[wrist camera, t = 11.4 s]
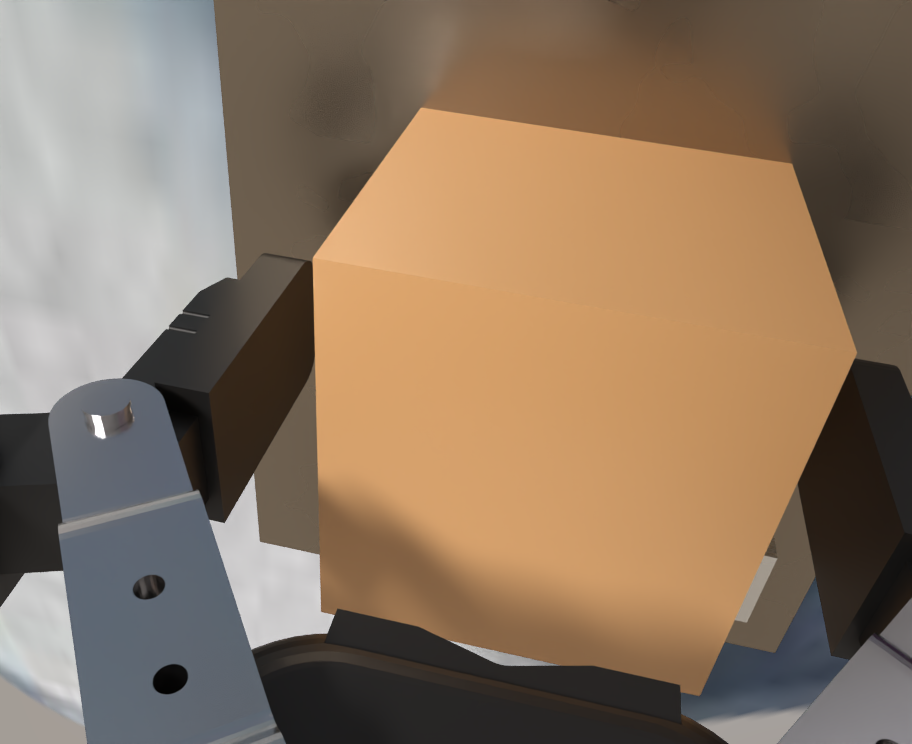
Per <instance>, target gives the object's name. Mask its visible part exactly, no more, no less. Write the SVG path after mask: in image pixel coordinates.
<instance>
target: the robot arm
mask: <svg viewBox="0 0 912 744" xmlns="http://www.w3.org/2000/svg"><path fill="white" fill-rule="evenodd" d="M314 358H315V335H314V294H313V264H312V262H311V261H309V260H303V259H297V258H292V257H286V256H280V255H275V254H269V253H263V254H261V255H260V256H259V258H258V259H257V260H256V261H255V262H254V264H253V265H252V266H251V267H250V268H249V270H248V271H247V272H246V273H245V274H244V275H243V277H242V278H241V279H240V280H238V279H232V278H225V279H223V280H221V281H219V282H217V283H215V284H213V285H211V286H209V287H208V288H206V289H204V290H202V291H200V292H199V293H198V294H197V295H196V296H195V297H194V298H193V300H192V301H191V302H190V303H189V304H188V305H187V306H186V307H185V308H184V310H183V314H179V315H178V316H177V317H176V319H175V320H174V321H173V322H172V323H171V324H170V325H169V330H167V329H166V330H165V331H164V332H163V333H162V334H161V335H160V336H159V338H158V339H157V340H156V341H155V342H154V343H153V344H152V345H151V347H150V348H149V349H148V350H147V351H146V352H145V353H144V354H143V355H142V357H141V358H140V359H139V360H138V361H137V362H136V363H135V364H134V366H133V367H132V368H131V369H130V370H129V371H128V372H127V373H126V374H125V376H124V377H123V378H122V379H107V380H100V381H96V382H92V383H89V384H86V385H83V386H80V387H78V388H76V389H74V390H72V391H71V392H69V393H67V394H66V395H65V396H63V397H62V398H61V399H60V400H59V401H58V402H57V403H56V404H55V405H54V406H53V408H52V410H51V411H50V413H36V414H3V415H0V607H1V606H2V604H3V603H4V601H5V600H6V599H7V597H8V596H9V594H10V593H11V592H12V590H13V589H14V587H15V586H16V584H17V583H18V582H19V580H20V579H21V577H22V576H23V575H24V573H32V572H49V571H64V578H65V585H66V592H67V600H68V607H69V614H70V621H71V629H72V636H73V643H74V650H75V658H76V665H77V672H78V679H79V687H80V694H81V701H82V708H83V716H84V723H85V730H86V737H87V744H728V743H727V742H726V741H724V740H723V739H722V738H720V737H719V736H717V735H716V734H715V733H714V732H712V731H710V730H709V729H707V728H705V727H704V726H702V725H701V724H699V723H697V722H696V721H694V720H692V719H690V718H688V717H686V716H684V715H682V714H681V694H680V685H678V684H674V683H669V682H665V681H660V680H656V679H651V678H647V677H642V676H638V675H633V674H629V673H624V672H620V671H615V670H611V669H606V668H602V667H597V666H504V665H499V664H496V663H494V662H491V661H489V660H487V659H485V658H483V657H481V656H479V655H477V654H475V653H473V652H471V651H469V650H466V649H464V648H462V647H460V646H458V645H456V644H454V643H452V642H450V641H448V640H446V639H444V638H441V637H439V636H437V635H435V634H433V633H431V632H429V631H427V630H425V629H423V628H421V627H418V626H414V625H409V624H405V623H400V622H396V621H391V620H387V619H382V618H378V617H373V616H369V615H365V614H360V613H356V612H351V611H347V610H342V609H338V608H337V611H336V613H335V616H334V619H333V621H332V624H331V626H330V629H329V631H328V634H311V635H303V636H295V637H291V638H287V639H282V640H278V641H274V642H271V643H268V644H266V645H263V646H260V647H257V648H254V649H252V650H251V648H250V645H249V642H248V638H247V635H246V632H245V629H244V626H243V623H242V620H241V617H240V614H239V611H238V608H237V605H236V601H235V598H234V595H233V592H232V589H231V586H230V583H229V580H228V577H227V574H226V571H225V568H224V564H223V561H222V558H221V555H220V552H219V549H218V546H217V543H216V540H215V537H214V534H213V531H212V527H211V524H210V521H209V520H213V521H218V522H223V523H225V521H226V520H227V518H228V516H229V514H230V513H231V511H232V509H233V508H234V506H235V504H236V502H237V501H238V499H239V497H240V496H241V494H242V492H243V490H244V489H245V487H246V485H247V484H248V482H249V480H250V478H251V477H252V475H253V473H254V472H255V470H256V468H257V466H258V465H259V463H260V461H261V460H262V458H263V456H264V454H265V453H266V451H267V449H268V448H269V446H270V444H271V442H272V441H273V439H274V437H275V436H276V434H277V432H278V430H279V429H280V427H281V425H282V424H283V422H284V420H285V418H286V417H287V415H288V413H289V412H290V410H291V408H292V406H293V405H294V403H295V401H296V400H297V398H298V396H299V394H300V393H301V391H302V389H303V388H304V386H305V384H306V382H307V380H308V378H309V376H310V373H311V371H312V367H313V363H314ZM797 484H798V489H799V494H800V499H801V504H802V510H803V515H804V520H805V525H806V530H807V535H808V540H809V545H810V550H811V555H812V560H813V566H814V571H815V576H816V581H817V586H818V591H819V596H820V601H821V606H822V611H823V616H824V622H825V627H826V632H827V637H828V642H829V647H830V652H831V656H835V657H840V658H845V659H849V662H848V663H847V664H846V665H845V666H844V667H843V669H842V670H841V671H840V672H839V673H838V674H837V675H836V677H835V678H834V679H833V680H832V681H831V682H830V683H829V685H828V686H827V687H826V688H825V689H824V690H823V691H822V693H821V694H820V695H819V696H818V697H817V698H816V699H815V701H814V702H813V703H812V704H811V705H810V706H809V708H808V709H807V710H806V711H805V712H804V713H803V714H802V716H801V717H800V718H799V719H798V720H797V721H796V722H795V724H794V725H793V726H792V727H791V728H790V729H789V730H788V732H787V733H786V734H785V735H784V736H783V738H782V739H781V740H780V741H779V742H778V743H777V744H912V398H911V396H910V393H909V391H908V388H907V386H906V383H905V381H904V378H903V376H902V374H901V371H900V369H899V368H898V367H897V366H895V365H890V364H885V363H879V362H873V361H868V360H862V359H856V358H855V359H854V361H853V363H852V365H851V368H850V370H849V372H848V374H847V376H846V378H845V381H844V383H843V385H842V387H841V389H840V392H839V394H838V396H837V398H836V400H835V402H834V405H833V407H832V409H831V411H830V413H829V416H828V418H827V420H826V422H825V424H824V426H823V429H822V431H821V433H820V435H819V437H818V439H817V442H816V444H815V446H814V448H813V450H812V453H811V455H810V457H809V459H808V461H807V463H806V466H805V468H804V470H803V472H802V474H801V477H800V479H799V481H798V483H797Z"/></svg>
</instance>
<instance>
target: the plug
mask: <svg viewBox="0 0 912 744" xmlns="http://www.w3.org/2000/svg"><path fill="white" fill-rule="evenodd" d="M313 294H314V335H315V377H316V418H317V459H318V500H319V541H320V583H321V612H324V613H329V614H333V615H335V613H336V611H337V608H338V609H342V610H347V611H351V612H356V613H360V614H365V615H369V616H373V617H378V618H382V619H387V620H391V621H396V622H400V623H405V624H409V625H414V626H418V627H421V628H423V629H425V630H427V631H429V632H431V633H433V634H435V635H437V636H439V637H441V638H444V639H446V640H450V641H454V642H459V643H463V644H468V645H472V646H477V647H481V648H486V649H490V650H495V651H499V652H504V653H508V654H513V655H517V656H522V657H526V658H531V659H535V660H539V661H544V662H548V663H553V664H557V665H562V666H597V667H602V668H606V669H611V670H615V671H620V672H624V673H629V674H633V675H638V676H642V677H647V678H651V679H656V680H660V681H665V682H669V683H674V684H678V685H680V692H683V693H687V694H692V695H696V696H700V694H701V692H702V690H703V688H704V686H705V684H706V681H707V679H708V677H709V675H710V673H711V670H712V668H713V666H714V664H715V662H716V660H717V657H718V655H719V653H720V651H721V649H722V646H723V644H724V642H725V640H726V638H727V636H728V633H729V631H730V629H731V627H732V625H733V623H734V620H735V618H736V616H737V614H738V612H739V609H740V607H741V605H742V603H743V601H744V599H745V596H746V594H747V592H748V590H749V588H750V585H751V583H752V581H753V579H754V577H755V575H756V572H757V570H758V568H759V566H760V564H761V562H762V559H763V557H764V555H765V553H766V551H767V548H768V546H769V544H770V542H771V540H772V538H773V535H774V533H775V531H776V529H777V527H778V524H779V522H780V520H781V518H782V516H783V514H784V511H785V509H786V507H787V505H788V503H789V501H790V498H791V496H792V494H793V492H794V490H795V487H796V485H797V483H798V481H799V479H800V477H801V474H802V472H803V470H804V468H805V466H806V463H807V461H808V459H809V457H810V455H811V453H812V450H813V448H814V446H815V444H816V442H817V439H818V437H819V435H820V433H821V431H822V429H823V426H824V424H825V422H826V420H827V418H828V416H829V413H830V411H831V409H832V407H833V405H834V402H835V400H836V398H837V396H838V394H839V392H840V389H841V387H842V385H843V383H844V381H845V378H846V376H847V374H848V372H849V370H850V368H851V365H852V363H853V361H854V359H855V357H856V355H857V351H856V348H855V345H854V342H853V339H852V336H851V333H850V330H849V328H848V325H847V322H846V319H845V316H844V313H843V310H842V307H841V304H840V301H839V299H838V296H837V293H836V290H835V287H834V284H833V281H832V278H831V275H830V272H829V270H828V267H827V264H826V261H825V258H824V255H823V252H822V249H821V246H820V243H819V241H818V238H817V235H816V232H815V229H814V226H813V223H812V220H811V217H810V214H809V212H808V209H807V206H806V203H805V200H804V197H803V194H802V191H801V188H800V185H799V183H798V180H797V177H796V174H795V171H794V168H793V165H792V164H791V163H784V162H777V161H771V160H764V159H757V158H751V157H744V156H738V155H731V154H724V153H718V152H711V151H705V150H698V149H691V148H685V147H678V146H672V145H665V144H658V143H652V142H645V141H639V140H632V139H625V138H619V137H612V136H606V135H599V134H592V133H586V132H579V131H573V130H566V129H559V128H553V127H546V126H540V125H533V124H526V123H520V122H513V121H507V120H500V119H493V118H487V117H480V116H474V115H467V114H460V113H454V112H447V111H441V110H434V109H427V108H420V110H419V111H418V112H417V114H416V115H415V117H414V118H413V119H412V121H411V122H410V123H409V125H408V126H407V128H406V129H405V130H404V132H403V133H402V135H401V136H400V137H399V139H398V140H397V142H396V143H395V144H394V146H393V147H392V148H391V150H390V151H389V153H388V154H387V155H386V157H385V158H384V160H383V161H382V162H381V164H380V165H379V166H378V168H377V169H376V171H375V172H374V173H373V175H372V176H371V178H370V179H369V180H368V182H367V183H366V185H365V186H364V187H363V189H362V190H361V191H360V193H359V194H358V196H357V197H356V198H355V200H354V201H353V203H352V204H351V205H350V207H349V208H348V209H347V211H346V212H345V214H344V215H343V216H342V218H341V219H340V221H339V222H338V223H337V225H336V226H335V228H334V229H333V230H332V232H331V233H330V234H329V236H328V237H327V239H326V240H325V241H324V243H323V244H322V246H321V247H320V248H319V250H318V251H317V253H316V254H315V255H314V257H313Z"/></svg>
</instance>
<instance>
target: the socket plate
mask: <svg viewBox="0 0 912 744" xmlns="http://www.w3.org/2000/svg"><path fill="white" fill-rule="evenodd" d="M214 10H215V22H216V33H217V45H218V57H219V68H220V80H221V92H222V103H223V115H224V127H225V138H226V150H227V162H228V173H229V185H230V197H231V208H232V220H233V232H234V243H235V255H236V267H237V278H238V280H240V279H241V278H242V277H243V275H244V274H245V273H246V272H247V271H248V270H249V268H250V267H251V266H252V265H253V264H254V262H255V261H256V260H257V259H258V258H259V256H260V255H261V254H263V253H269V254H275V255H280V256H286V257H292V258H297V259H303V260H309V261H311V262H312V264H313V257H314V255H315V254H316V253H317V251H318V250H319V248H320V247H321V246H322V244H323V243H324V241H325V240H326V239H327V237H328V236H329V234H330V233H331V232H332V230H333V229H334V228H335V226H336V225H337V223H338V222H339V221H340V219H341V218H342V216H343V215H344V214H345V212H346V211H347V209H348V208H349V207H350V205H351V204H352V203H353V201H354V200H355V198H356V197H357V196H358V194H359V193H360V191H361V190H362V189H363V187H364V186H365V185H366V183H367V182H368V180H369V179H370V178H371V176H372V175H373V173H374V172H375V171H376V169H377V168H378V166H379V165H380V164H381V162H382V161H383V160H384V158H385V157H386V155H387V154H388V153H389V151H390V150H391V148H392V147H393V146H394V144H395V143H396V142H397V140H398V139H399V137H400V136H401V135H402V133H403V132H404V130H405V129H406V128H407V126H408V125H409V123H410V122H411V121H412V119H413V118H414V117H415V115H416V114H417V112H418V111H419V110H420V108H427V109H434V110H441V111H447V112H454V113H460V114H467V115H474V116H480V117H487V118H493V119H500V120H507V121H513V122H520V123H526V124H533V125H540V126H546V127H553V128H559V129H566V130H573V131H579V132H586V133H592V134H599V135H606V136H612V137H619V138H625V139H632V140H639V141H645V142H652V143H658V144H665V145H672V146H678V147H685V148H691V149H698V150H705V151H711V152H718V153H724V154H731V155H738V156H744V157H751V158H757V159H764V160H771V161H777V162H784V163H791V164H792V165H793V168H794V171H795V174H796V177H797V180H798V183H799V185H800V188H801V191H802V194H803V197H804V200H805V203H806V206H807V209H808V212H809V214H810V217H811V220H812V223H813V226H814V229H815V232H816V235H817V238H818V241H819V243H820V246H821V249H822V252H823V255H824V258H825V261H826V264H827V267H828V270H829V272H830V275H831V278H832V281H833V284H834V287H835V290H836V293H837V296H838V299H839V301H840V304H841V307H842V310H843V313H844V316H845V319H846V322H847V325H848V328H849V330H850V333H851V336H852V339H853V342H854V345H855V348H856V351H857V355H856V357H855V358H856V359H862V360H868V361H873V362H879V363H885V364H890V365H895V366H897V367H898V368H899V369H900V371H901V374H902V376H903V378H904V381H905V383H906V386H907V388H908V391H909V393H910V396H911V395H912V0H214ZM254 477H255V489H256V500H257V512H258V524H259V535H260V542H264V543H269V544H274V545H278V546H283V547H287V548H292V549H297V550H301V551H306V552H311V553H315V554H320V541H319V500H318V459H317V418H316V377H315V358H314V363H313V367H312V371H311V373H310V376H309V378H308V380H307V382H306V384H305V386H304V388H303V389H302V391H301V393H300V394H299V396H298V398H297V400H296V401H295V403H294V405H293V406H292V408H291V410H290V412H289V413H288V415H287V417H286V418H285V420H284V422H283V424H282V425H281V427H280V429H279V430H278V432H277V434H276V436H275V437H274V439H273V441H272V442H271V444H270V446H269V448H268V449H267V451H266V453H265V454H264V456H263V458H262V460H261V461H260V463H259V465H258V466H257V468H256V470H255V472H254ZM814 578H815V571H814V566H813V560H812V555H811V550H810V545H809V540H808V535H807V530H806V525H805V520H804V515H803V510H802V504H801V499H800V494H799V489H798V484H797V485H796V487H795V490H794V492H793V494H792V496H791V498H790V501H789V503H788V505H787V507H786V509H785V511H784V514H783V516H782V518H781V520H780V522H779V524H778V527H777V529H776V531H775V533H774V535H773V538H772V540H771V542H770V544H769V546H768V548H767V551H766V553H765V555H764V557H763V559H762V562H761V564H760V566H759V568H758V570H757V572H756V575H755V577H754V579H753V581H752V583H751V585H750V588H749V590H748V592H747V594H746V596H745V599H744V601H743V603H742V605H741V607H740V609H739V612H738V614H737V616H736V618H735V620H734V623H733V625H732V627H731V629H730V631H729V633H728V636H727V638H726V640H725V642H726V643H731V644H736V645H740V646H745V647H750V648H754V649H759V650H763V651H768V652H773V653H775V652H776V650H777V648H778V646H779V644H780V643H781V641H782V639H783V637H784V635H785V633H786V631H787V629H788V627H789V626H790V624H791V622H792V620H793V618H794V616H795V614H796V612H797V610H798V609H799V607H800V605H801V603H802V601H803V599H804V597H805V595H806V593H807V592H808V590H809V588H810V586H811V584H812V582H813V580H814Z"/></svg>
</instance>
